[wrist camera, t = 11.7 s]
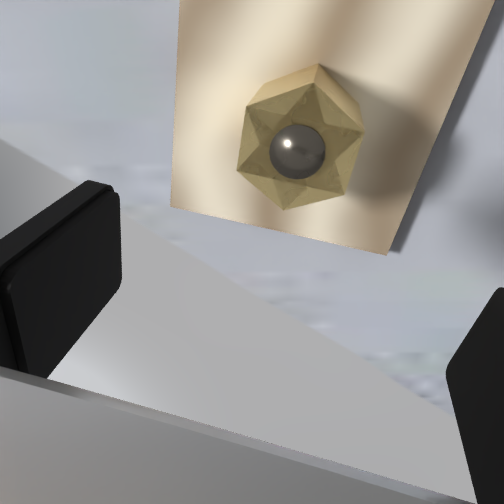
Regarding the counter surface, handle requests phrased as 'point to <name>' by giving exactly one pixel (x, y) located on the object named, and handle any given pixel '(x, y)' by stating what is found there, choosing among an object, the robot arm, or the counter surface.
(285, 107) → the brass nut
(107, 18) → the counter surface
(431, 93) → the pad
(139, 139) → the counter surface
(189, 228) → the counter surface
